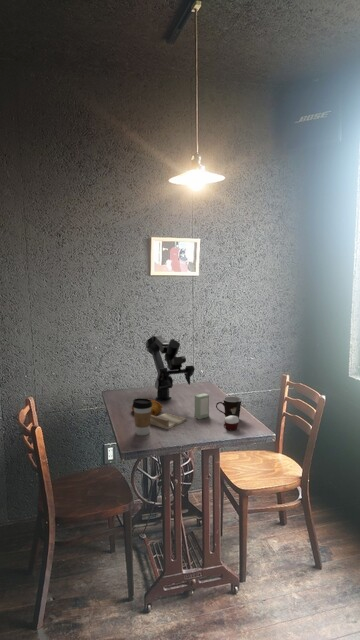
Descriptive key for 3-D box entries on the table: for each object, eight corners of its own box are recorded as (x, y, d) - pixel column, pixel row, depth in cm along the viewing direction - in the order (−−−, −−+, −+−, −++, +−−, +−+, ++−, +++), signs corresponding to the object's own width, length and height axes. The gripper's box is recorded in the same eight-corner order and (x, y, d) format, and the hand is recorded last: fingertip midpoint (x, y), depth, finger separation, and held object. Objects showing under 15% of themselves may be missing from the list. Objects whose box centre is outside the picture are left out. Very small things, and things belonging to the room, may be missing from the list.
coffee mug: (242, 417, 206) (243, 397, 205) (239, 423, 198) (239, 402, 197) (219, 414, 210) (219, 395, 208) (215, 420, 202) (215, 400, 200)
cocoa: (224, 433, 187) (224, 407, 185) (220, 427, 193) (219, 402, 191) (244, 430, 189) (244, 405, 187) (240, 424, 195) (239, 400, 193)
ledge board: (165, 414, 210) (165, 407, 209) (186, 420, 201) (186, 412, 201) (146, 422, 199) (146, 414, 198) (167, 429, 191) (167, 420, 190)
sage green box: (194, 417, 206) (194, 395, 205) (204, 414, 210) (204, 393, 209) (199, 419, 203) (199, 397, 202) (208, 416, 207) (209, 394, 206)
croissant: (141, 423, 204) (142, 408, 202) (127, 410, 216) (127, 396, 214) (167, 417, 212) (167, 402, 210) (152, 404, 224) (152, 391, 222)
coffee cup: (133, 429, 190) (132, 397, 188) (152, 429, 191) (151, 396, 189) (132, 437, 182) (132, 403, 180) (152, 436, 183) (152, 402, 181)
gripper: (158, 352, 211) (166, 376, 200) (192, 349, 218) (202, 372, 207) (154, 366, 218) (162, 390, 208) (187, 364, 225) (196, 387, 214)
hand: (181, 385), depth 209 cm, fingers open, 9 cm apart
